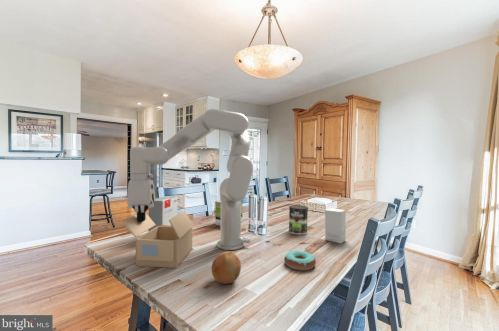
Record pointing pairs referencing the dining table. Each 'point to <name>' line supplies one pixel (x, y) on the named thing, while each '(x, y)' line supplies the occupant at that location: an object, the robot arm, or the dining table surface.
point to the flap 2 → (181, 224)
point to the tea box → (218, 212)
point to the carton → (162, 247)
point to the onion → (226, 267)
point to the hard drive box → (163, 210)
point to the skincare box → (335, 225)
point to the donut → (300, 260)
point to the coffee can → (298, 219)
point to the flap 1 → (138, 224)
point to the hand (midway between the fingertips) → (141, 221)
